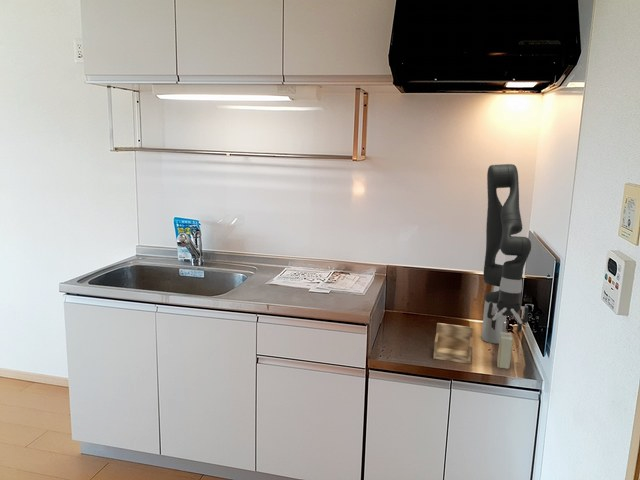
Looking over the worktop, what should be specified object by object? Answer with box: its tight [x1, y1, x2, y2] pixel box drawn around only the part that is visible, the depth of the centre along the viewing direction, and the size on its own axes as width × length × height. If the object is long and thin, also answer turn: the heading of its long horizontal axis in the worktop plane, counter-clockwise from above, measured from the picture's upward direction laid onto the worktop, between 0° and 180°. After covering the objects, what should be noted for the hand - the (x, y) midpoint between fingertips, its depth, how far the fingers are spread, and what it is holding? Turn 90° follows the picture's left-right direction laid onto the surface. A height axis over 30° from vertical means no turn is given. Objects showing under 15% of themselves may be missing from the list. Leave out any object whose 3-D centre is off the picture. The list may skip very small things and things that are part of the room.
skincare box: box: [496, 331, 514, 370], centre depth 191 cm, size 6×4×12 cm
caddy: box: [433, 322, 474, 365], centre depth 198 cm, size 14×10×11 cm
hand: (505, 330), depth 189 cm, fingers open, 8 cm apart
